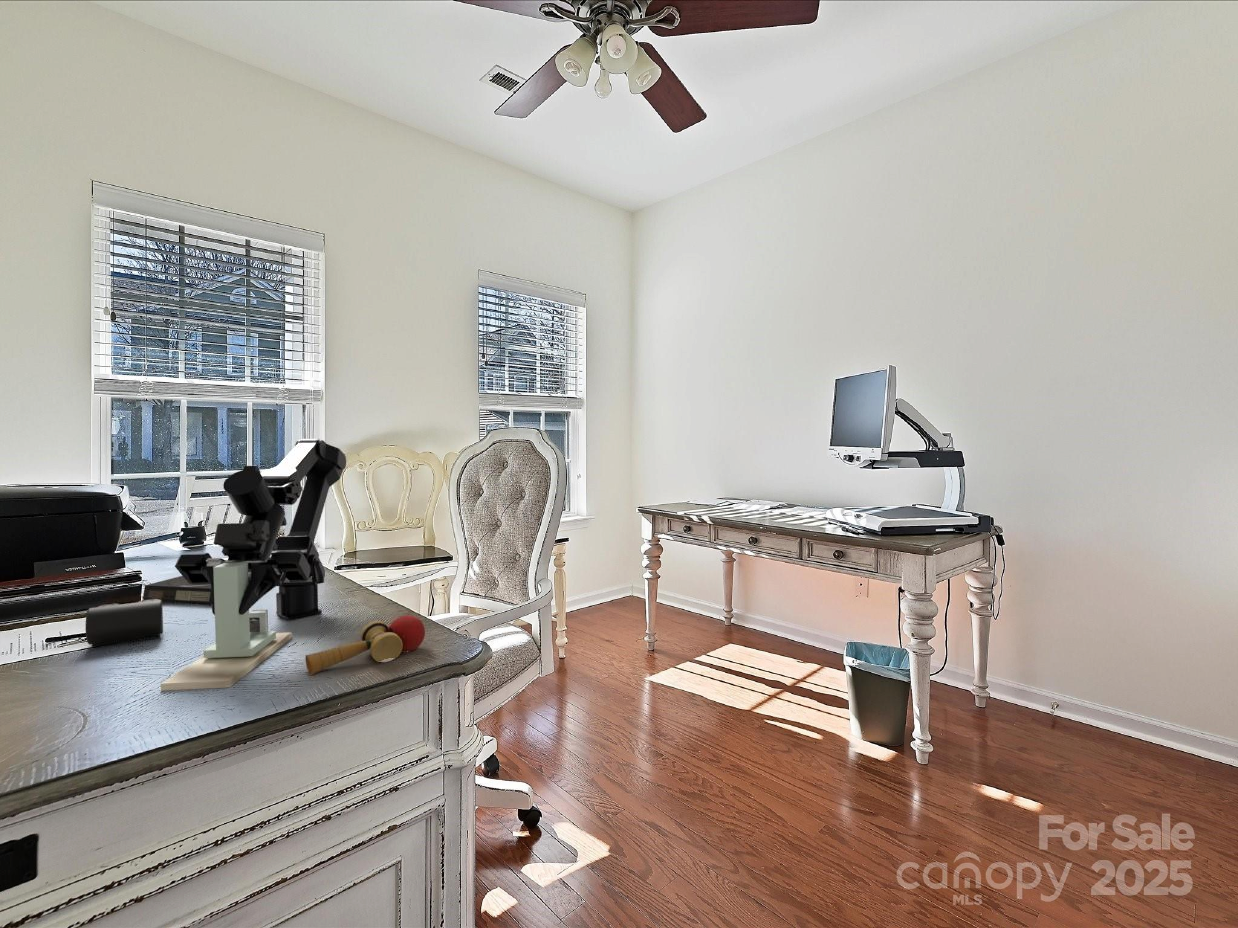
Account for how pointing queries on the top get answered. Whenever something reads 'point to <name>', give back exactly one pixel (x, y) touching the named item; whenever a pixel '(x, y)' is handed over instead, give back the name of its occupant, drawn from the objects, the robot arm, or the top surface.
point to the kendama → (374, 643)
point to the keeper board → (223, 666)
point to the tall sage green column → (235, 615)
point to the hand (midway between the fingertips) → (227, 613)
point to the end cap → (124, 622)
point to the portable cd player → (180, 592)
